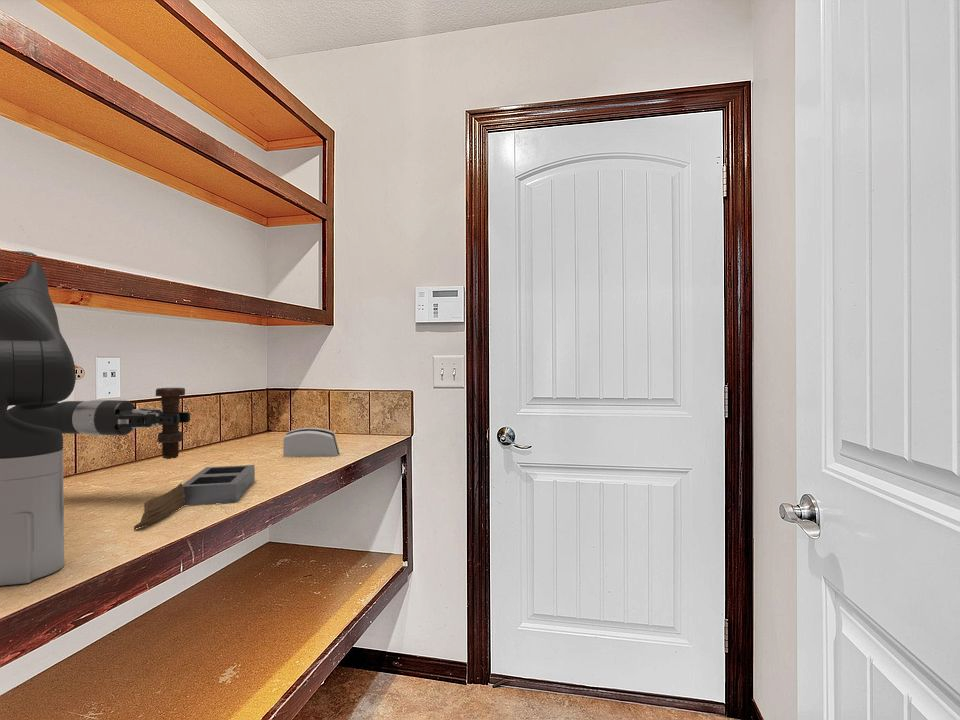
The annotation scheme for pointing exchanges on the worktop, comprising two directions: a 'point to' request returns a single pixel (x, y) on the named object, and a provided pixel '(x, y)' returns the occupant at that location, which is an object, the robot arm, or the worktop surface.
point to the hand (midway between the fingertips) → (183, 418)
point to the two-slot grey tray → (218, 485)
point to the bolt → (170, 432)
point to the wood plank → (162, 506)
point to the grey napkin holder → (310, 443)
